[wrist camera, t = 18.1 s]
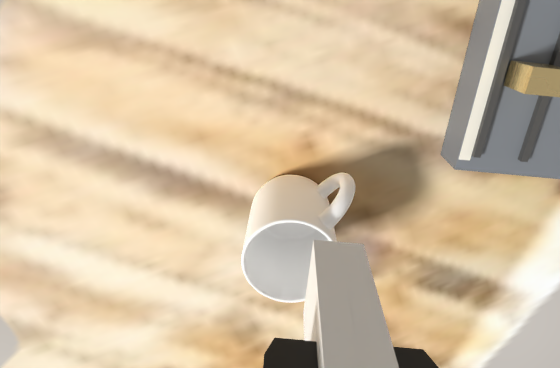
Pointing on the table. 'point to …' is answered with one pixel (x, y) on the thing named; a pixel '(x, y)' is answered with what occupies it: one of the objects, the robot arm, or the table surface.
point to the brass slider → (533, 78)
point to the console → (506, 93)
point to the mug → (291, 231)
